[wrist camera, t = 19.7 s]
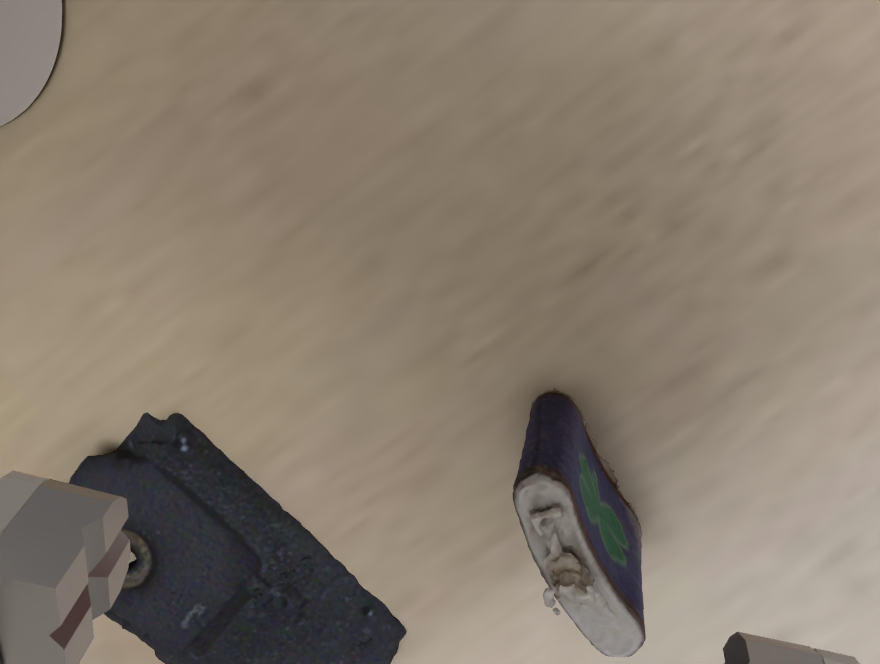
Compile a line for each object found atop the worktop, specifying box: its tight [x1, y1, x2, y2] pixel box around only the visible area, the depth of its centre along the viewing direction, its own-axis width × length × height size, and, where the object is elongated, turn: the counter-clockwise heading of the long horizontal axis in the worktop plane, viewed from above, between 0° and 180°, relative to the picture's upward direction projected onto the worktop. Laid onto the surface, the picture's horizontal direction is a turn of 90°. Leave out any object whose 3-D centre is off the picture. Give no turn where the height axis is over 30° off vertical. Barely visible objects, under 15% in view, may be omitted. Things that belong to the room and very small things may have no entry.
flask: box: [513, 388, 645, 657], centre depth 40 cm, size 10×3×12 cm, turn 29°
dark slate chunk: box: [69, 413, 406, 664], centre depth 51 cm, size 15×22×5 cm
